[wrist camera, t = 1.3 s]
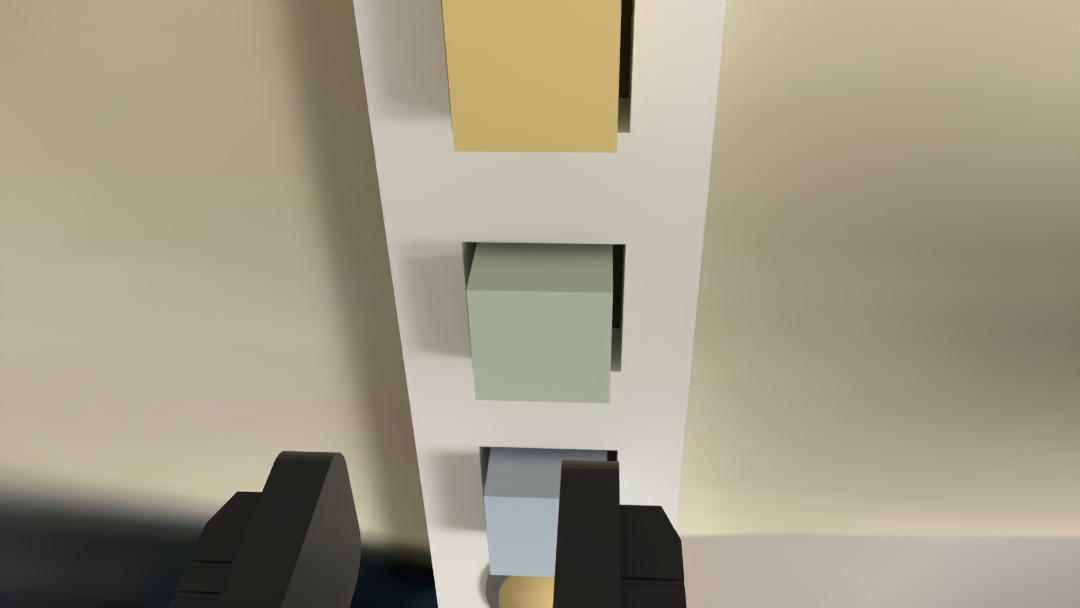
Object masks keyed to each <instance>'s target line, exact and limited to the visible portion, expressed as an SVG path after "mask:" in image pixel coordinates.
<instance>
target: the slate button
mask: <svg viewBox="0 0 1080 608" xmlns="http://www.w3.org/2000/svg"><path fill="white" fill-rule="evenodd" d="M562 460H587V461H607V450H587V449H552V448H517V447H491V451H490V458H489V465H488V471H487V478H486V485H485V491H484V505H485V517H486V529H487V541H488V553H489V564H490V575H509V576H535V577H555V561H556V545H557V529H558V512H559V496H560V479H561V465H562Z"/></svg>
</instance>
